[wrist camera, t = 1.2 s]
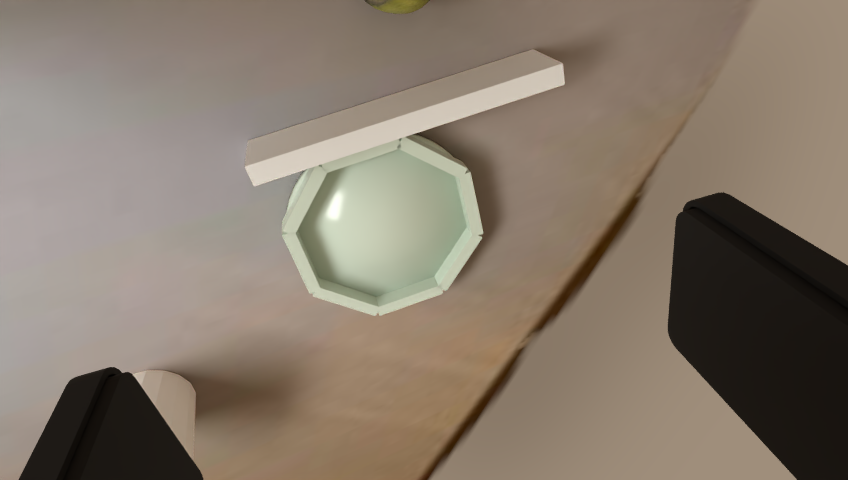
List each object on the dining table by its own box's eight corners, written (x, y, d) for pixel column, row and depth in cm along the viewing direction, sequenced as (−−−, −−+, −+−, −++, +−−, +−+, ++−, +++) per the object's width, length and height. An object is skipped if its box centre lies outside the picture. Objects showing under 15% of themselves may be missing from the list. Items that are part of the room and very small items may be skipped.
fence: (247, 140, 31) (244, 166, 27) (533, 49, 32) (562, 63, 29) (256, 158, 31) (254, 186, 28) (535, 68, 33) (564, 84, 29)
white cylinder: (215, 371, 39) (205, 450, 33) (192, 435, 41) (179, 519, 35) (111, 355, 36) (79, 439, 30) (93, 425, 38) (61, 514, 33)
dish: (253, 168, 32) (252, 180, 30) (452, 103, 33) (461, 111, 31) (324, 320, 39) (326, 336, 37) (487, 263, 40) (495, 277, 38)
